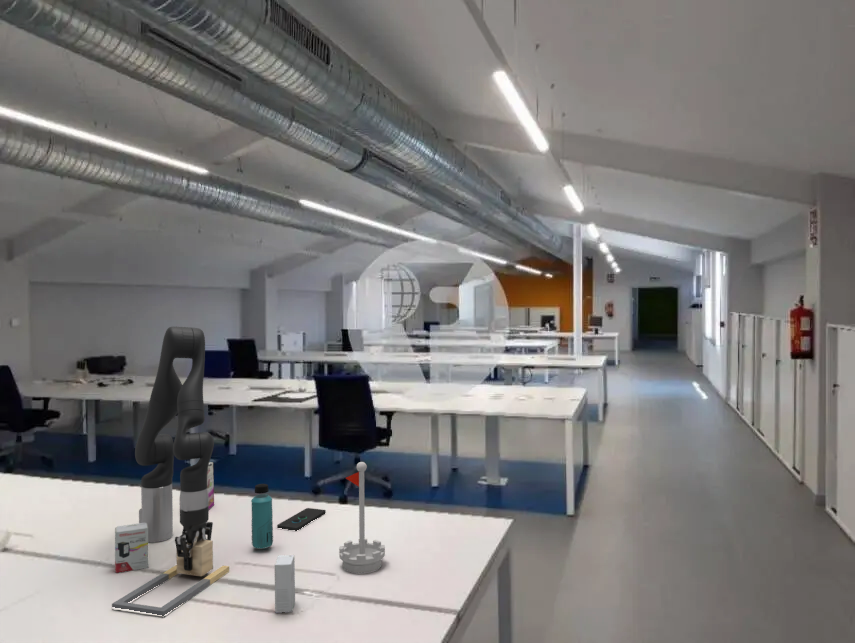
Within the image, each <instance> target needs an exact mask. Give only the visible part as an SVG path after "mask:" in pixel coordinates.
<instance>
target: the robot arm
mask: <svg viewBox="0 0 855 643" xmlns="http://www.w3.org/2000/svg"><path fill="white" fill-rule="evenodd" d="M160 351H161V352H160V357H159V364H158V369H157V372H156V376H155V378H154V383H153V386H152V390H151V392H150V393H151V394H150V396H149V401H148V406H147V410H146V414H145V418H144V421H143V424H142V428H141V430H140V432H139V435H138V437H137V440H136V444H135V448H134V449H135V450H134V456H135V460H136V462H137V464H138V465H140V466H143V467H144V466H145V467H146V466H153V465H156V467H155V468H154V469H152V471H150V472H148V473H146V474H144V475H143V476H142V477H141V481H140V485H141V486H140V488H141V508H140V509H138V523H147V525H148V543H158V542H164V541H166V540H167V541H168V540H169V539H171V538H173V536H174V534H173V533H174V532H173V531H174V529H173V528H174V521H173V520H174V518H173V516H174V515H173V511H174V510H173V506H174V505H173V478H174V477H173V476H174V463H175V461H174V460H175V458H176V459H177V460H179V461H187V460H196V459H198V461H196V463H194V464H193V465H190V466H187V467H184V468H183V469H181V471H180V473H179V474H180V476H179V478H180V479H179V480H180V482H179V483H180V488H179V489H180V492H179V493H180V494H179V523H180V525H181V526H182V532H181V535H179V536H175V537H174V543H175V547H176V548H175V549H176V550H177V555H178V557H183V558H184V569H185V570H187V571H191V570H192V568H193V567H192V554H193V548H194V546H196V542H197V541H200V540H202V541H204V540H211V541H212V533H213V525H214V523H213V522H211V521H209V517H210V516H209V515H210V514H209V513H210V512H209V510H210V509H209V505H208V489H207V473H208V466H209V462H211V458H212V454H213V450H214V446H215V441H214V437H213V435H211V433H210V432H207V431H206V432H205V431H204V432H203V431H202V432H193V433H192V432H190V433H187V432H188V430H190V429H193V428H196V427H198V426H201V425H203V424H204V422H205V418H206V417H205V405H204V404H205V403H204V377H205V361H206V357H205V356H206V337H205V333H204V331H203V329H201V328H198V327H189V326H187V327H186V326H169V327H168V328H167V329H166V330H165V332H164V335H163V339H162V345H161V350H160ZM175 359H191V368H190V372H189V374H188V376H187V377H186V379H185V381H184V382H183V384H182V381H181V380H180V377H179V376H178V375H177V372H176V370H175V367H174V360H175ZM176 416H177V429H176V431H175V437H174V441H173V438H172V436H171V435H170V434H168V433H160V432H161V430H162V429H163V428H165V427H166V426H167V425H169V423H170V422H172V420H173V419H174V418H175V417H176ZM159 433H160V434H159ZM187 543H192V544H191V545H188V544H187ZM187 548H189V552H188V551H187ZM181 550H182V551H183V552H182V551H181Z"/></svg>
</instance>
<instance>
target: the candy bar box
mask: <svg viewBox="0 0 855 643" xmlns="http://www.w3.org/2000/svg"><path fill="white" fill-rule="evenodd" d="M214 479H215V478H214V462H211V461H209V466H208V473H207V489H208V505H209V510H211V509H212V508H214V506H215V492H214V491H215V490H214V489H215V487H214V485H215V484H214V483H215V482H214Z"/></svg>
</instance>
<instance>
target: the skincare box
mask: <svg viewBox="0 0 855 643" xmlns="http://www.w3.org/2000/svg"><path fill="white" fill-rule="evenodd" d="M295 561H296V560H295V555H294V554H284V555H283V554H282V555H281V554H280V555H277V557H276V560H275V563H274V613H276V614H280V613H281V614H282V612H285V613H293V610H294V606H295V602H296V585H295V584H296V578H295V577H296V576H295V575H296V572H295Z"/></svg>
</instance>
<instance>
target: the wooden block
mask: <svg viewBox="0 0 855 643" xmlns="http://www.w3.org/2000/svg"><path fill="white" fill-rule="evenodd" d="M213 541H214V540H212V539H211V540H204V541H202V540H200V541H197V542H196V546H194V548H193V554H192V567H193V568H192V570H191V571H187V570H185V569H184V558H183V557H178V555H177V550H176V556H175V557H176V565H177V573H178V574H182V575H189V576H195V577H203V576H205V575H206V574H207V573H210V572H211V571H212V570H213V569H214V568H213V567H214V565H213V564H214V563H213V562H214V556H213V555H214V552H213V550H214V549H213V545H214V544H213ZM187 544H188V545H191V544H192V543H187ZM181 551H182V550H181ZM187 551H188V552H189V548H187ZM182 552H183V551H182Z"/></svg>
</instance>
